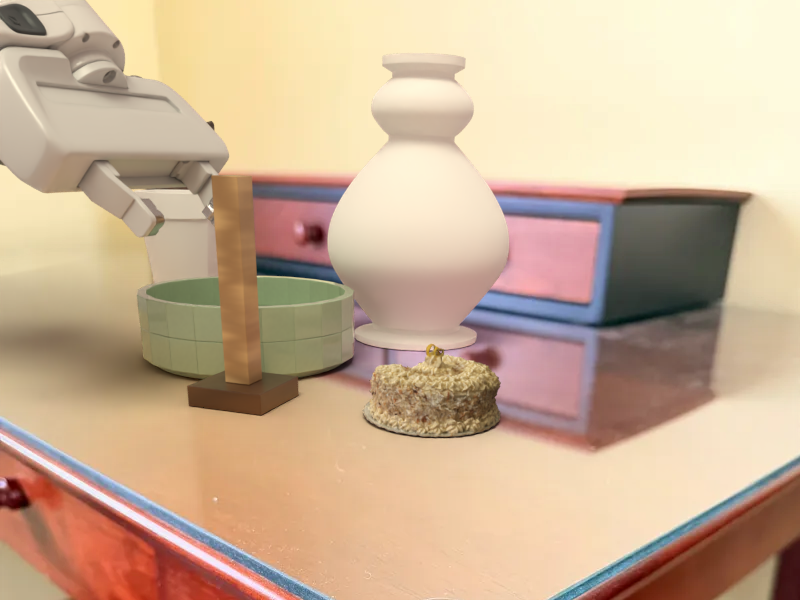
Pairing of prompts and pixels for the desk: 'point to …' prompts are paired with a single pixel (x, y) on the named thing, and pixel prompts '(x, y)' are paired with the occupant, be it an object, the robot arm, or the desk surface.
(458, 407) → the cake
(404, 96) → the decorative vase
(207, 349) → the bowl
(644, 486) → the desk surface
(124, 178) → the robot arm
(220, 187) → the wooden post stand
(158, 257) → the white flower pot
